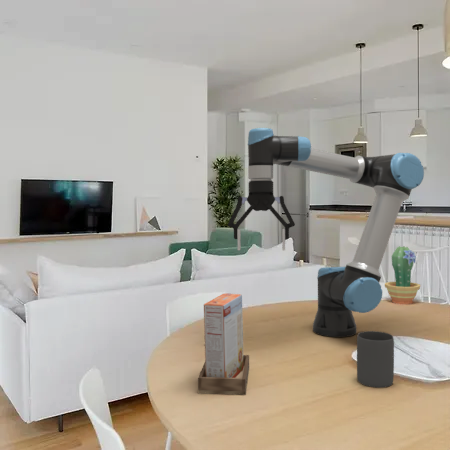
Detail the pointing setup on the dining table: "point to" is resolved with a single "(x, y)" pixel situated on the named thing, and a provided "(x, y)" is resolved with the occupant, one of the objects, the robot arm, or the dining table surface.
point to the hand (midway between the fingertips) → (261, 250)
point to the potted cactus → (402, 277)
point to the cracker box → (223, 336)
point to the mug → (375, 359)
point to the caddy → (224, 382)
